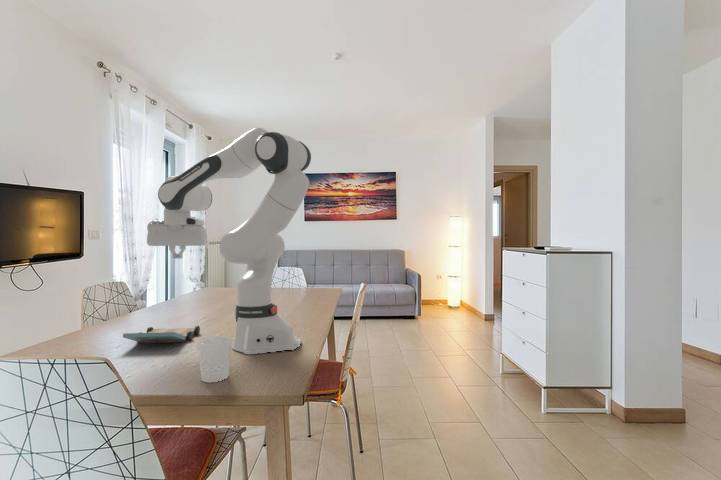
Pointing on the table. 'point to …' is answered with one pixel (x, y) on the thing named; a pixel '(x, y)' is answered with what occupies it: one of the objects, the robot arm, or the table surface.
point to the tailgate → (154, 336)
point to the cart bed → (183, 331)
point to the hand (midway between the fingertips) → (177, 258)
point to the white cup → (214, 358)
